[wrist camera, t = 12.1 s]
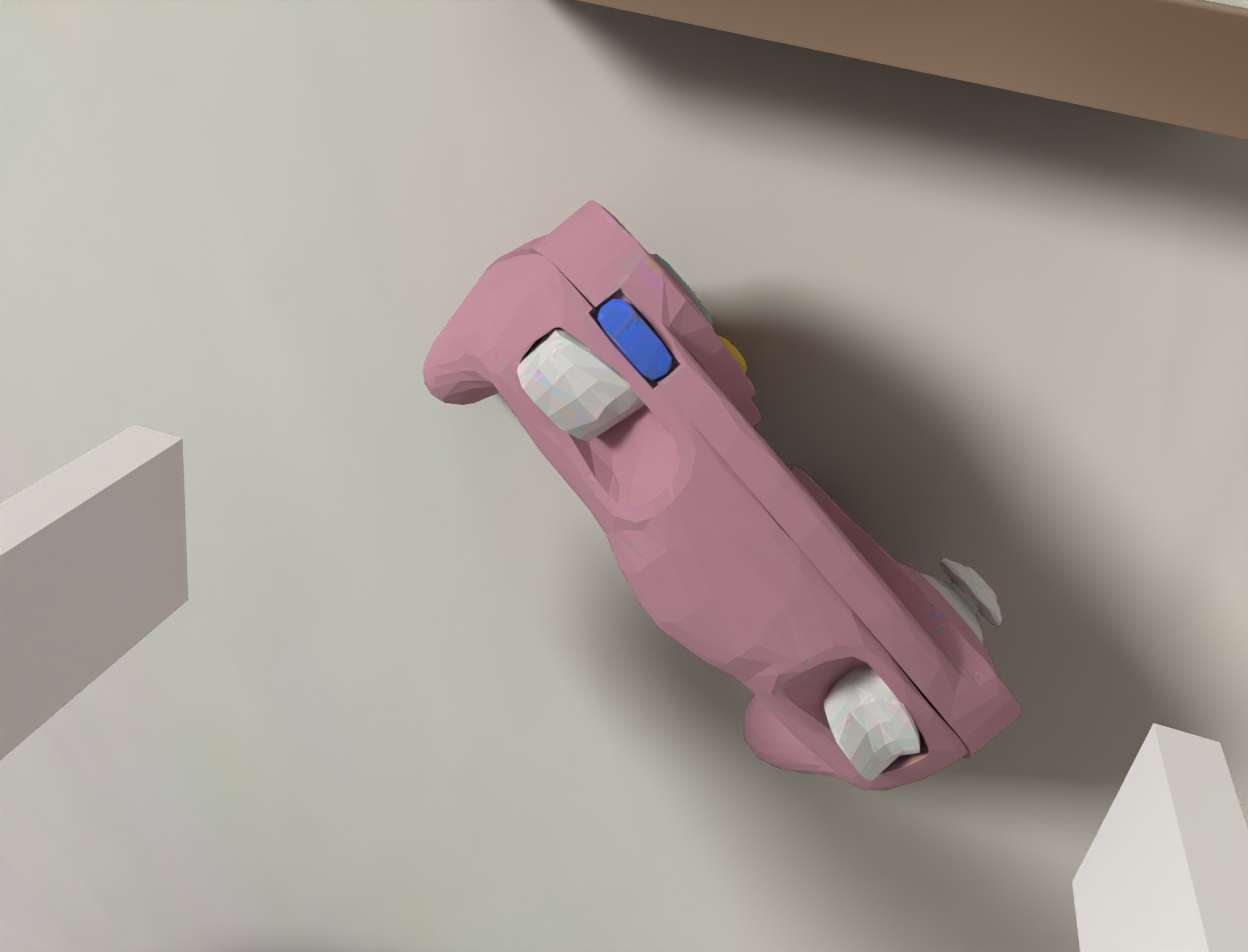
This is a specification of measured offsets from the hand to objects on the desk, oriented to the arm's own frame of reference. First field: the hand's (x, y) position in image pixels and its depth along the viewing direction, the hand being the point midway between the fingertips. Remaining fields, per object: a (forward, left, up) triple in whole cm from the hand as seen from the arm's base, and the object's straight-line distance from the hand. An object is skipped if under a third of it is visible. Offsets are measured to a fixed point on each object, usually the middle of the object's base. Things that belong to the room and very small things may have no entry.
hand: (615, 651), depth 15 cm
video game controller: (+1, 0, -6) cm, 6 cm away
